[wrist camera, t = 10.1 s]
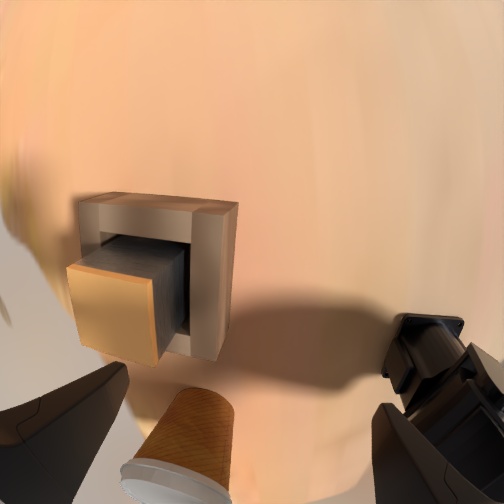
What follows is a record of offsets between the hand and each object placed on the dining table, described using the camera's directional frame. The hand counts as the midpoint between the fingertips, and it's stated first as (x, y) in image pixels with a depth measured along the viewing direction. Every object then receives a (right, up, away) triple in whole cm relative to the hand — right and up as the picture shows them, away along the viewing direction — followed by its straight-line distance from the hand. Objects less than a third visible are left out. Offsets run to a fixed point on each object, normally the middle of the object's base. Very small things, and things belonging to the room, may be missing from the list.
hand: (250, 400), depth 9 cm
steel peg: (-6, +4, +13) cm, 15 cm away
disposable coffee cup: (-5, -11, +19) cm, 22 cm away
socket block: (-6, +4, +13) cm, 15 cm away
